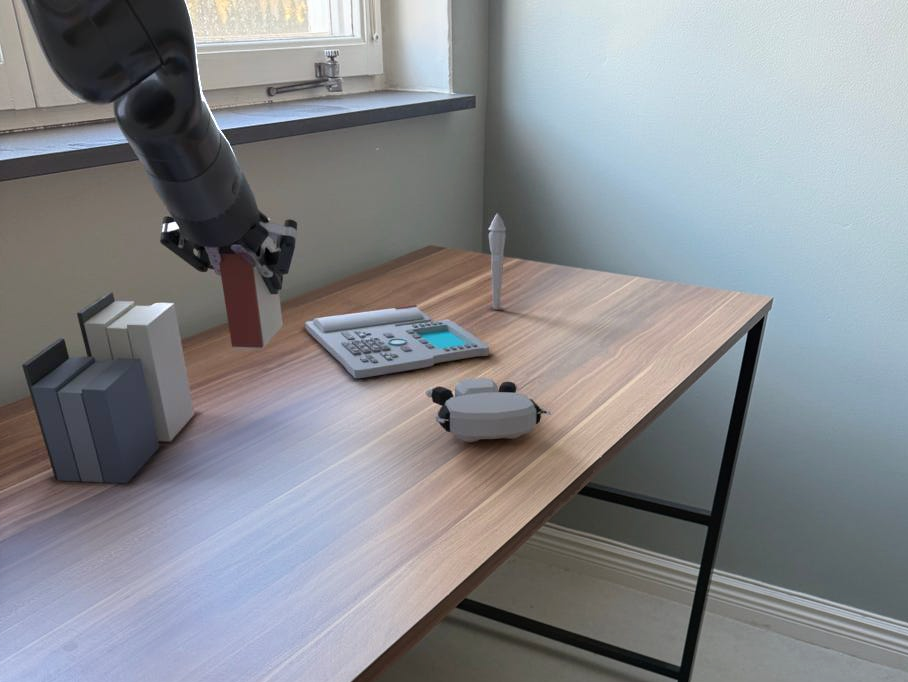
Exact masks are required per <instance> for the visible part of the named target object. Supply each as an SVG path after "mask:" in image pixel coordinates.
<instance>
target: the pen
mask: <svg viewBox="0 0 908 682" xmlns="http://www.w3.org/2000/svg"><path fill="white" fill-rule="evenodd" d="M487 230H488V231H489V233H488V242H489V243H488V244H489V250H490V253H491V254H490V257H491V262H490V263H491V265H490V267H491V268H490V269H491V289H492V290H491V291H492V293H491V294H492V307H493V308H492V309H493V310H498V311H499V310H500V307H501V297H502V285H503V275H504V251H505V244H506V230H507V227H506V225H505V222H504V221H503V218H502V217H501V216H500V214H499V213H498V212H497V213H496V214H495V216H494V217H493V219H492V221H491V223H490V225H489V227H488V229H487Z"/></svg>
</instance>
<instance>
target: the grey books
mask: <svg viewBox="0 0 908 682" xmlns="http://www.w3.org/2000/svg"><path fill="white" fill-rule="evenodd" d="M21 366H22V370H23V373H24V377H25V381H26V383H27V387H28V390H29V393H30V398H31V401H32V404H33V407H34V411H35V414H36V418H37V421H38V424H39V429H40V432H41V435H42V438H43V442H44V445H45V448H46V452H47V456H48V458H49V463H50V466H51V470H52V472H53V473H52V474H53V476H54V478H55V479H57V480H58V481H64V482H65V481H66V482H85V483H106V484H107V483H108V484H109V483H110V484H128V483H129V482H130V481H131V480H132V479H133V477H135V475H136V474H137V473H138V472H139V471H140V470H141V468H142V467H143V466H144V465H145V464H146V463H147V462H148V461H149V460H150V458H151V457H152V456H153V455H154V454H155V453H156V452H157V450H159V449H160V445H159V441H158V439H157V434H156V430H155V425H154V420H153V416H152V411H151V406H150V402H149V397H148V392H147V388H146V383H145V378H144V374H143V369H142V364H141V360H140V359H133V358H118V359H117V360H116V361H95V358H94V357H87V355H86V356H85V355H83V356H82V355H81V356H80V355H72V356H71V357H70V355H69V351H68V348H67V344H66V340H65V338H63V337H62V338H61V337H60V338H58V339H56V340H55V341H54V342H53V343H51V344H49V345H48V346H47V347H45V348H43V349H42V350H41V351H40V352H38V353H37V354H35V355H34V356H32V357H31V358H30V359H28V360H27V361H25V362H24V363H23V364H22V365H21Z"/></svg>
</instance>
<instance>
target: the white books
mask: <svg viewBox="0 0 908 682" xmlns="http://www.w3.org/2000/svg"><path fill="white" fill-rule="evenodd" d="M76 316H77V320H78V324H79V328H80V331H81V332H80V333H81V336H82V340H83V345H84V348H85V352H86V357H94V358H95V361H116V360H117V359H118V358H133V359H140V360H141V364H142V369H143V374H144V378H145V383H146V388H147V392H148V397H149V402H150V406H151V411H152V416H153V420H154V425H155V430H156V434H157V439H158V442H164V443H165V442H166V443H167V442H168V443H170V442H172V441H173V439H174V438H175V437H177V435H178V434H180V432H181V431H182V429H183V428H184V427H185V426H186V425H187V424H188V423H189V421H190V420H191V419H192V418H193V417H194V416H195V410H194V404H193V399H192V394H191V388H190V383H189V377H188V372H187V366H186V361H185V354H184V350H183V344H182V340H181V334H180V330H179V329H180V328H179V323H178V317H177V313H176V307H175V303H174V302H154V303H153V304H152V305H135V301H126V300H125V301H123V300H115V296H114V291H108V292H106V293H105V294H103V295H101V296H99V298H97V299H95V300H94V301H92V302H91V303H90V304H88V305H86V306H85V307H84V308H82V309H80V310H79V311H77V312H76Z"/></svg>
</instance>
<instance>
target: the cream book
mask: <svg viewBox="0 0 908 682" xmlns="http://www.w3.org/2000/svg"><path fill="white" fill-rule="evenodd" d="M268 220H269V222H270V223H272V222H271V218H268ZM266 241H267V243H268V245H269V246H270V247H271V248H272V249H273V251H274V252H275V249H274V247H275V246H274V242H273V239H272V238H270V237H267V238H266ZM219 266H220V272H221V276H220V279H221V284H222V290H223V291H222V292H223V298H224V303H225V310H226V317H227V323H228V331H229V334H230V335H229V336H230V342H231V347H232V349H239V350H240V349H241V350H243V349H244V350H264V348H265V347H266V346H267V345H268V344H269V343H270V341H271V340H272V339H273V338H274V337H275V336H276V334H277V333H278V332H279V331H280V330H281V328H282V327H283V326H284V324H283V323H284V322H283V314H282V307H281V306H282V305H281V298H280V297H281V296H280V290H279V291H278V294H270V292H269V290H268V288H267V286H266V284H265V282H264V281H263V279H262V275H261V274H260V273H259V271H258V270H257V269H256V267H255V268H253V267H252V265H251V264H247V263H246V262H245V261H244V260H243V259H242V257H241V256H240V255H239V254H222V263H219Z"/></svg>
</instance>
